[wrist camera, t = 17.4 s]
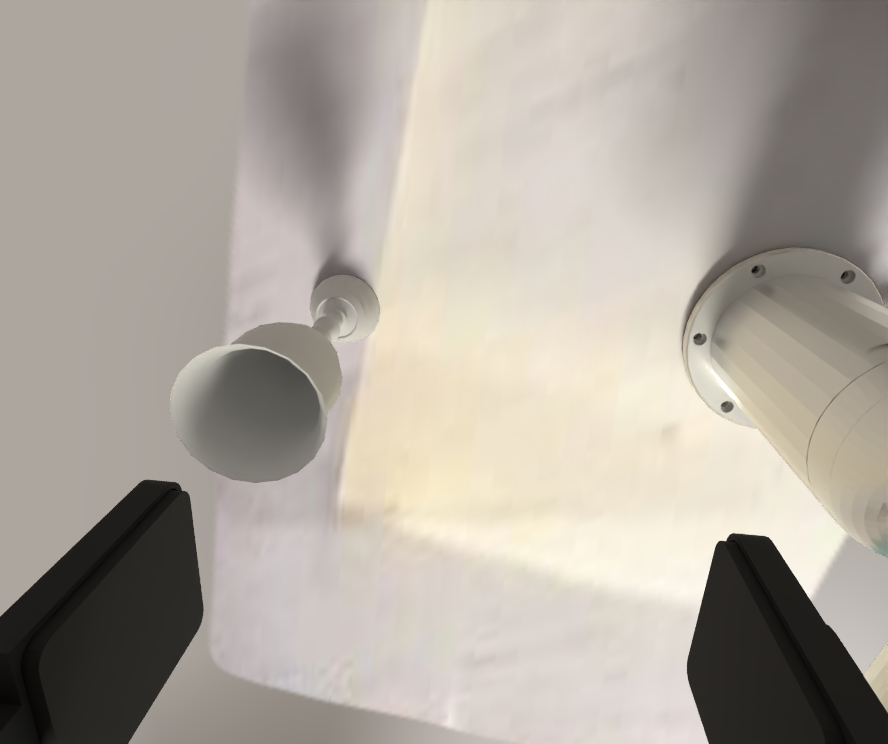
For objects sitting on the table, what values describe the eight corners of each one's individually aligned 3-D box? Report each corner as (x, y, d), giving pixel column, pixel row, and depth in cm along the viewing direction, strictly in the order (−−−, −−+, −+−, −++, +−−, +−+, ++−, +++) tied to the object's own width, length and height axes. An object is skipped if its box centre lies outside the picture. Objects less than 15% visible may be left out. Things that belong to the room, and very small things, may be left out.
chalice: (316, 365, 46) (209, 497, 30) (280, 279, 44) (142, 369, 27) (408, 338, 45) (350, 461, 28) (375, 248, 43) (291, 323, 26)
